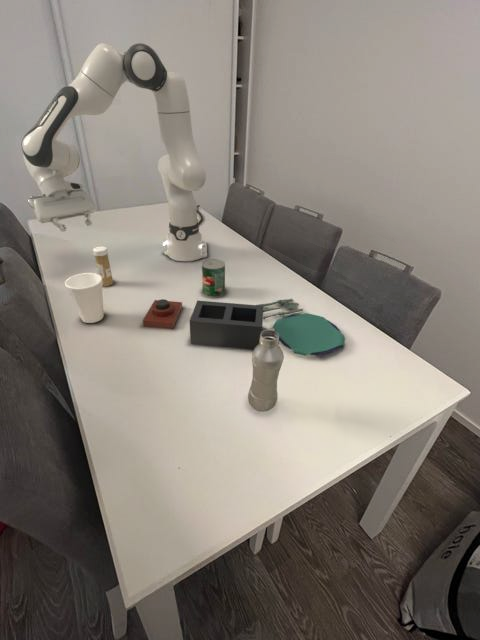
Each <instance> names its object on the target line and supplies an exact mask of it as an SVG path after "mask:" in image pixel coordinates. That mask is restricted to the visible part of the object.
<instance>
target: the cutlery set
mask: <svg viewBox="0 0 480 640" xmlns="http://www.w3.org/2000/svg"><path fill="white" fill-rule="evenodd" d="M277 304H278V305H283V306H280V307H271V308H265V309H264V308H263V313H266V312H270V311H276V310H283V309H286V310H289V311H279V312H277V313H274V314H271V315H266V316H265V315H264V316H263V320H265V319H268V318H272V317H277V316H279V317H280V316H283V317H280V318H277V319H276V320H275V322H274V324H273V325H272V329H273V330H274V331H276V332H277V333H278V334H279V343H281V344H282V345H283V346H284V347H286V348H287V349H289V350H292V353H293V354H296V355H301V356H304V357H307V356H309V355H311V356H320V355H327V354H330V353H333V352H335V351H337V350H338V349H339V348H340V347H344V345H345V342H346V337H345V335H344V334H343V332H342V331H341V330H340V329H339V327H338V326H337V325H336V324H335V323H333V322H332V321H330V320H328V319H327V318H326V317H324V316H321V315H317V314H314V313H308V312H307V313H306V312H303V311H304V308H299V309H296V308H297V307H299V305H300V303H298V302H295V300H294V299H293V298H287V299H278V300H276V301H272V302H268V303H260V304H258V305H259V306H264V307H269V306H274V305H277ZM298 312H299V313H298ZM300 312H303V313H300ZM285 315H286V316H285Z"/></svg>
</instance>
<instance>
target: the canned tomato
mask: <svg viewBox="0 0 480 640" xmlns="http://www.w3.org/2000/svg"><path fill="white" fill-rule="evenodd" d="M201 273H202V274H201V278H202V294H203V296H205V297H208V298H220V297H223V296H224V295H225V293H226V288H225V287H226V263H225V261H224V260H222V259H219V258H208V259H205V260H203V261H202V262H201Z"/></svg>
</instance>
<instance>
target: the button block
mask: <svg viewBox="0 0 480 640" xmlns="http://www.w3.org/2000/svg"><path fill="white" fill-rule="evenodd" d="M158 300H159V299H154V301H153V302H152V304H151V305H150V307H149V309H148V311H147V313H146V314H145V316H144V318H143V319H142V325H143V327H145V328H157V329H167V330H168V329H169V330H173V329H174V328H175V326H176V324H177V321H178V319H179V316H180V314H181V312H182V310H183V302H182V301H174V300H173V301H172V300H167V301H168V304H169V308H167V309H164V310H159V309H157V305H156V302H157V301H158Z"/></svg>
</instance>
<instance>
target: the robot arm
mask: <svg viewBox="0 0 480 640" xmlns="http://www.w3.org/2000/svg"><path fill="white" fill-rule="evenodd" d="M125 83H131V84H133V85H134V86H136V87H138V88H140V89H146V90H149V91H152V93H153V95H154V98H155V103H156V110H157V116H158V125H159V132H160V138H161V140H162V142H163V144H164V147H165V149H166V152H167V153H166V154H163V155H162V156H161V157H160V158H159V159H158V162H157V170H158V173H159V175H160V178H161V180H162V184H163V187H164V192H165V196H166V199H167V204H168V205H167V206H168V213H169V214H168V215H169V223H168V229H169V233H168V234H167V235H166V241H164V242H163V243H162V246H166V249H165V250H164V251H163V255H165V256H168V258H170V260H174V261H177V262H192V261H198V260H200V259H204V258H207V257H208V245H207V242H206V241H204V240H203V241H202V237H203V236H202V233H201V231H200V224H201V223H202V221H203V214H201V212H200V211H198V208H200V207H201V206H200V204H197V201H196V199H195V196H194V194H193V192H197V191H200V189H202V188H203V187H204V185H205V183H206V181H207V173H206V170H205V168H204V167H203V164H202V163H201V161H200V157H199V154H198V150H197V147H196V144H195V140H194V136H193V135H194V134H193V127H192V126H193V125H192V117H191V107H190V100H189V94H188V90H187V85H186V81H185V78H184V77H183V76H182V75H181V74H180V73H178V72H176V71H172V70H167V69H166V67H165V65H164V63H163V61H162V60H161V58H160V56H159V55H158V53H157V52H156V51H155V50H154V49H153V48H152V47H151V46H149V45H148V44H146V43H142V42H141V43H140V42H139V43H134V44H132V45H131V46H130V47H128V49H126V51H124V52H120V51H119V50H117V49H116V48H114V47H113V45H111V44H108V43H103V42H102V43H99V44H97V45H96V46H95V47H94V48H93V50H92V51H91V52H90V53H89V55H88V56H87V58H86V59H85V61H84V62H83V65H82V67H81V68H80V70H79V73H78V74H77V75H76V77H75V78H74V80H72V81H71V83H69V84H68V85H67V86H64V87H62V88H61V89H60V90H59V91H58V92H57V93H56V94H55V96H54V97H53V98H52V100H51V101H50V103H48V105H47V107H46V108H45V110H44V112H43V113H42V114H41V116H40V117H39V119H38V120H37V122H36V123H35V124H34V126H33V127H31V128H30V129H29V130H28V132H26V133H25V134H24V136H23V138H22V140H21V151H22V157H23V162H24V165H25V167H26V169H27V171H28V172H29V175H30V176H31V178H32V180H33V181H34V182H35V183H36V184H37V187H38V189H39V191H40V193H41V194H38V195H30V197H29V198H27V203H28V204H29V206H30V208H32V210H33V212H34V215H35V217H36V220H38V222H40V223H41V224H47V223H52V225H54V226H55V227H56V228H58V229H59V231H60V232H66V231H67V227H66V225H65V223H63V224H62V223H61V222H59V221H62V220H66V219H72V218H78V217H81V216H84V218H86V219H85V221H84V223H85V225H86V226H87V227H88V226H90V227H91V226H92V225H93V222H92V220H91V215H92V214H95V212H96V210H97V205H96V204H97V203H95V201H94V199H93V198H92V197H91V195H90V194H89V192H87V191H85V190H84V189H85V188H84V185H83V184H82V183H80V182H79V183H77V182H72V181H71V182H70V181H68V180H65V178H66V177H67V176H70V175H71V174H73V173H74V172H75V171H77V169H78V168H79V166H80V159H81V158H80V153H79V151H78V150H77V148H76V147H75V146H74V145H72V144H70V143H68V142H65V141H63V140H60V139H57V138H58V136H59V135H60V133H61V132H62V130H63V129H64V127H65V126H66V125H67V123H68V121H69V120H71V119H72V118H74V117H77V116H83V115H87V116H98V115H102V114H104V113H106V111H107V110H109V108H110V107H111V105H112V104H113V101H114V100H115V98H116V96H117V94H118V92H119V90H120V89H121V87H122V86H123V85H125ZM198 215H199V217H200V220H199V219H198Z"/></svg>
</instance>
